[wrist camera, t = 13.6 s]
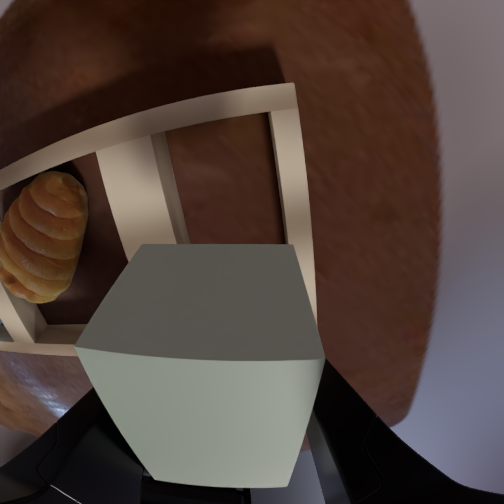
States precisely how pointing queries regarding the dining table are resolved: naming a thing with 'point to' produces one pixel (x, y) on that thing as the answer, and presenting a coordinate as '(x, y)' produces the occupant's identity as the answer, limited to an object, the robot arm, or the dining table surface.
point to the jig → (160, 192)
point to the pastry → (43, 237)
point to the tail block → (208, 361)
